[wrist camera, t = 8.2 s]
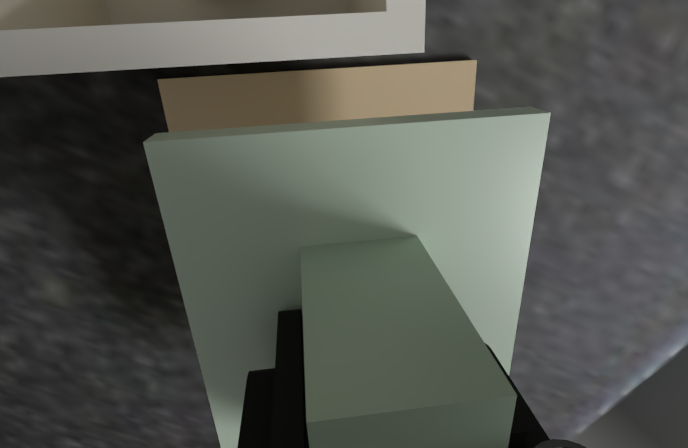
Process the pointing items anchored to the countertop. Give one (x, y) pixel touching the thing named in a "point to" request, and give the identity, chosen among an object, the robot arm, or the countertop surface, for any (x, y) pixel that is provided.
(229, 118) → the mat
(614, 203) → the countertop surface
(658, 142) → the countertop surface
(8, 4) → the tub
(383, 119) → the lid
